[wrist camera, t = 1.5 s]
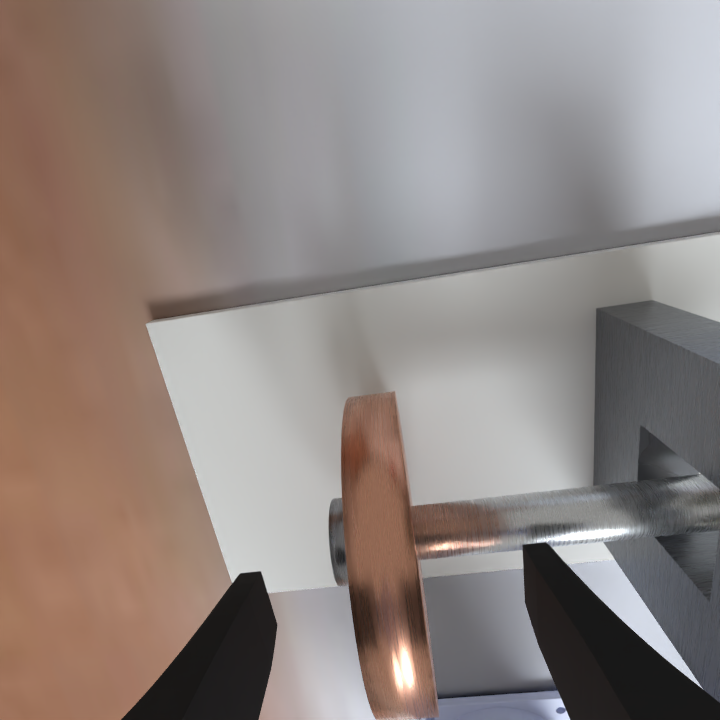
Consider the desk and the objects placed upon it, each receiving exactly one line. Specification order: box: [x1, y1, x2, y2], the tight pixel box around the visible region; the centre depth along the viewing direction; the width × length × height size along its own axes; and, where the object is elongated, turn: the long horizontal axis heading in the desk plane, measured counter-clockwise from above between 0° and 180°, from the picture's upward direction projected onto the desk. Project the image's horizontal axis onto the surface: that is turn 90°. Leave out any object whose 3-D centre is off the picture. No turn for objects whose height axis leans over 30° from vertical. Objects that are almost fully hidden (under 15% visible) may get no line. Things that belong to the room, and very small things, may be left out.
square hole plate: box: [593, 300, 720, 702], centre depth 14 cm, size 10×2×8 cm, turn 9°
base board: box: [146, 232, 720, 593], centre depth 18 cm, size 14×26×1 cm, turn 99°
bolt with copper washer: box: [329, 391, 720, 720], centre depth 13 cm, size 9×16×9 cm, turn 99°
